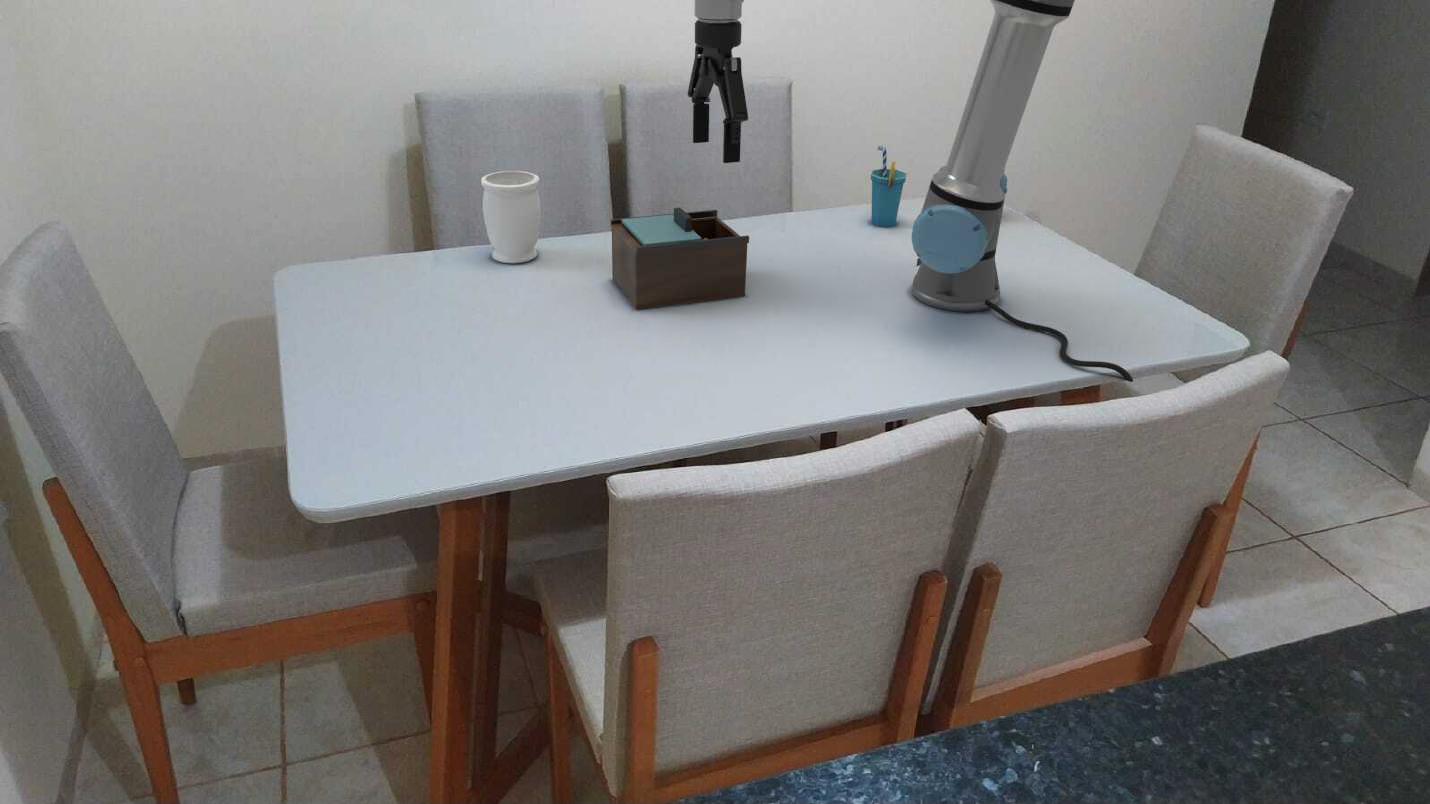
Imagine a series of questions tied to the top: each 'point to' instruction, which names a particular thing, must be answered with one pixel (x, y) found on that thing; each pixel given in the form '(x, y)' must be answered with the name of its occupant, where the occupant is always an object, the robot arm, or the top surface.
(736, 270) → the chest
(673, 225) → the teal box lid
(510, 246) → the jar
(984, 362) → the top surface
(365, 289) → the top surface
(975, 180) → the robot arm
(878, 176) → the cup
